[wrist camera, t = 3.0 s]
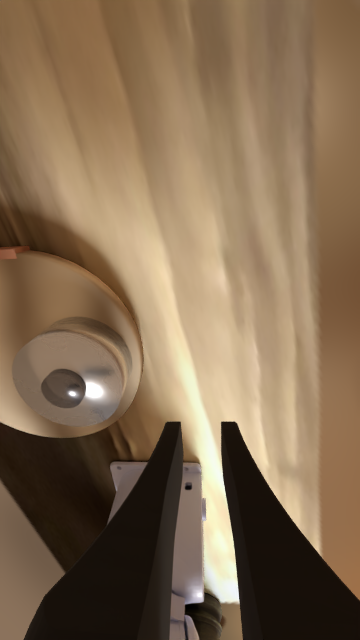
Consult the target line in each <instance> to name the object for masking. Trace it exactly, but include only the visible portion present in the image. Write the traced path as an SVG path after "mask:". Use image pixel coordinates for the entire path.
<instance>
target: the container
mask: <svg viewBox="0 0 360 640" xmlns="http://www.w3.org/2000/svg"><path fill="white" fill-rule="evenodd" d="M184 615H187V616H190V617H191V618H192V620H193V623H194V626H195V628H196V630H197V633H198V636H199V640H219V638H220V636H221V632H222V627H221V625H220V624H219V622H220V621H221V618H222V610H221V606H220V603H219V602H218V601H217V600H216V599H215V598H214V597H212V596H210V595H208V594H205V593H204V602H201V603H190V604H185V614H184Z"/></svg>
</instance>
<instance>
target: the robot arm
mask: <svg viewBox="0 0 360 640" xmlns="http://www.w3.org/2000/svg"><path fill="white" fill-rule="evenodd" d="M221 455H222V468H223V479H224V485H225V491H226V497H227V503H228V509H229V515H230V521H231V527H232V533H233V540H234V548H235V557H236V568H237V578H238V589H239V600H240V610H241V622H242V634H243V640H360V600H359V599H358V598H357V597H356V596H355V595H354V594H353V593H352V592H351V591H350V590H349V588H348V587H347V586H346V585H345V584H344V583H343V582H342V581H341V579H339V577H338V576H337V575H336V574H335V573H334V571H333V570H332V569H331V568H330V567H329V566H328V565H327V563H326V562H325V561H324V560H323V559H322V557H321V556H320V555H319V554H318V552H317V551H316V550H315V549H314V547H313V546H312V545H311V544H310V542H309V541H308V540H307V539H306V537H305V536H304V535H303V534H302V532H301V531H300V530H299V529H298V527H297V526H296V524H295V523H294V522H293V520H292V519H291V518H290V516H289V515H288V514H287V512H286V511H285V509H284V508H283V506H282V505H281V504H280V502H279V501H278V499H277V498H276V496H275V495H274V493H273V492H272V490H271V489H270V487H269V485H268V484H267V482H266V480H265V479H264V477H263V476H262V474H261V472H260V470H259V469H258V467H257V465H256V463H255V461H254V460H253V458H252V456H251V454H250V452H249V450H248V448H247V446H246V444H245V442H244V440H243V437H242V435H241V433H240V430H239V428H238V425H237V423H236V422H221ZM110 469H111V473H112V477H113V480H114V484H115V488H116V495H115V499H114V502H113V506H112V509H111V513H110V516H109V520H108V523H107V525H106V527H105V528H104V529H103V531H102V532H101V533H100V534H99V536H98V537H97V538H96V539H95V540H94V542H93V543H92V544H91V545H90V546H89V547H88V549H87V550H86V551H85V552H84V553H83V555H82V556H81V557H80V558H79V559H78V560H77V562H76V563H75V564H74V565H73V566H72V567H71V568H70V569H69V570H68V571H67V572H66V574H65V575H64V576H63V577H62V578H61V579H60V580H59V581H58V582H57V583H56V584H55V585H54V586H53V587H52V588H51V590H50V591H49V592H48V593H47V594H46V595H45V596H44V598H43V600H42V602H41V604H40V606H39V608H38V609H37V611H36V614H35V616H34V618H33V620H32V622H31V624H30V626H29V628H28V631H27V633H26V635H25V638H24V640H199V636H198V633H197V630H196V628H195V626H194V623H193V620H192V618H191V617H190V616H187V615H184V614H185V604H190V603H201V602H204V545H203V520H205V521H206V499H205V498H203V497H202V478H201V465H200V464H198V463H183V443H182V432H181V422H167V423H165V426H164V429H163V431H162V434H161V436H160V439H159V441H158V443H157V445H156V447H155V449H154V451H153V453H152V455H151V457H150V459H149V461H148V462H112V463H111V465H110Z"/></svg>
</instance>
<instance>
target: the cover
mask: <svg viewBox="0 0 360 640" xmlns="http://www.w3.org/2000/svg"><path fill="white" fill-rule="evenodd" d="M131 372H132V357H131V353H130V351H129V348H128V346H127V344H126V343H125V341H124V340H123V339H122V337H121V336H120V335H119V334H118V333H117V332H116V331H114V330H113V329H112V328H110V327H109V326H107V325H106V324H104V323H102V322H100V321H97V320H95V319H91V318H87V317H67V318H63V319H61V320H58V321H56V322H54V323H53V324H51V325H50V326H49V327H48V328H46V329H45V330H44V331H43V332H41V333H40V334H39V335H37V336H36V337H35V338H34V339H32V340H31V341H30V342H29V343H27V344H26V345H25V346H24V347H22V348H21V349H20V351H19V352H18V353H17V355H16V356H15V358H14V361H13V365H12V377H13V382H14V385H15V387H16V389H17V391H18V393H19V395H20V396H21V398H22V399H23V400H24V401H25V403H26V404H27V405H28V406H29V407H30V408H32V409H33V410H34V411H35V412H37V413H38V414H40V415H41V416H43V417H45V418H47V419H49V420H51V421H53V422H56V423H59V424H63V425H67V426H74V427H85V426H92V425H95V424H98V423H101V422H103V421H105V420H106V419H108V418H109V417H110V416H111V415H112V414H113V413H114V412H115V411H116V409H117V407H118V405H119V403H120V400H121V398H122V395H123V393H124V390H125V388H126V386H127V383H128V381H129V378H130V376H131Z"/></svg>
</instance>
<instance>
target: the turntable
mask: <svg viewBox="0 0 360 640" xmlns="http://www.w3.org/2000/svg"><path fill="white" fill-rule="evenodd" d="M67 317H87V318H91V319H95V320H97V321H100V322H102V323H104V324H106V325H107V326H109V327H110V328H112V329H113V330H114V331H116V332H117V333H118V334H119V335H120V336H121V337H122V339H123V340H124V341H125V343H126V344H127V346H128V348H129V351H130V353H131V357H132V372H131V376H130V378H129V381H128V383H127V386H126V388H125V390H124V393H123V395H122V398H121V400H120V403H119V405H118V407H117V409H116V411H115V412H114V413H113V414H112V415H111V416H110V417H109V418H108V419H106V420H105V421H103V422H101V423H98V424H95V425H92V426H85V427H74V426H67V425H63V424H59V423H56V422H53V421H51V420H49V419H47V418H45V417H43V416H41V415H40V414H38V413H37V412H35V411H34V410H33V409H32V408H30V407H29V406H28V405H27V404H26V403H25V401H24V400H23V399H22V398H21V396H20V395H19V393H18V391H17V389H16V387H15V385H14V382H13V377H12V365H13V361H14V358H15V356H16V355H17V353H18V352H19V351H20V349H21V348H22V347H24V346H25V345H26V344H27V343H29V342H30V341H31V340H32V339H34V338H35V337H36V336H37V335H39V334H40V333H41V332H43V331H44V330H45V329H46V328H48V327H49V326H50V325H51V324H53V323H54V322H56V321H58V320H61V319H63V318H67ZM143 362H144V357H143V347H142V342H141V338H140V334H139V332H138V329H137V326H136V324H135V322H134V320H133V318H132V316H131V314H130V313H129V311H128V310H127V308H126V307H125V305H124V304H123V302H122V301H121V300H120V299H119V298H118V296H117V295H116V294H115V293H114V292H113V291H112V290H111V289H110V288H109V287H108V286H107V285H106V284H105V283H104V282H102V281H101V280H100V279H99V278H98V277H96V276H95V275H93V274H92V273H90V272H89V271H88V270H86V269H84V268H82V267H81V266H79V265H77V264H75V263H73V262H71V261H69V260H66V259H64V258H61V257H59V256H56V255H52V254H48V253H45V252H39V251H32V250H30V248H29V246H16V247H1V248H0V422H2V423H4V424H6V425H8V426H11V427H13V428H15V429H18V430H21V431H24V432H27V433H31V434H35V435H39V436H46V437H56V438H70V437H79V436H85V435H89V434H92V433H95V432H98V431H100V430H103V429H105V428H106V427H108V426H110V425H111V424H113V423H114V422H115V421H117V420H118V419H119V418H120V417H121V416H122V415H123V414H124V413H125V412H126V411H127V409H128V408H129V406H130V405H131V403H132V401H133V399H134V397H135V394H136V392H137V389H138V386H139V383H140V380H141V376H142V372H143Z"/></svg>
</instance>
